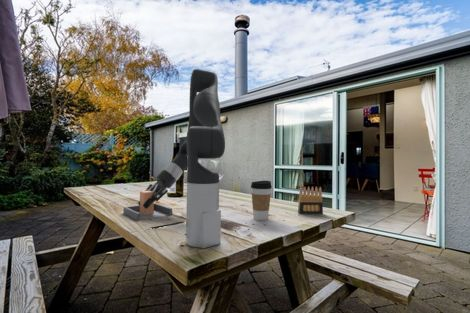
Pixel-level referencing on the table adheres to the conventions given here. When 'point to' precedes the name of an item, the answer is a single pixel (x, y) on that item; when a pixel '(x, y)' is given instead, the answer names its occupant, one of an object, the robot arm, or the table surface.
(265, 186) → the coffee cup
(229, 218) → the table surface
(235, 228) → the table surface
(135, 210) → the grey square tray
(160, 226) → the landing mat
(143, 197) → the block
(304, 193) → the ammunition clip
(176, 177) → the robot arm
